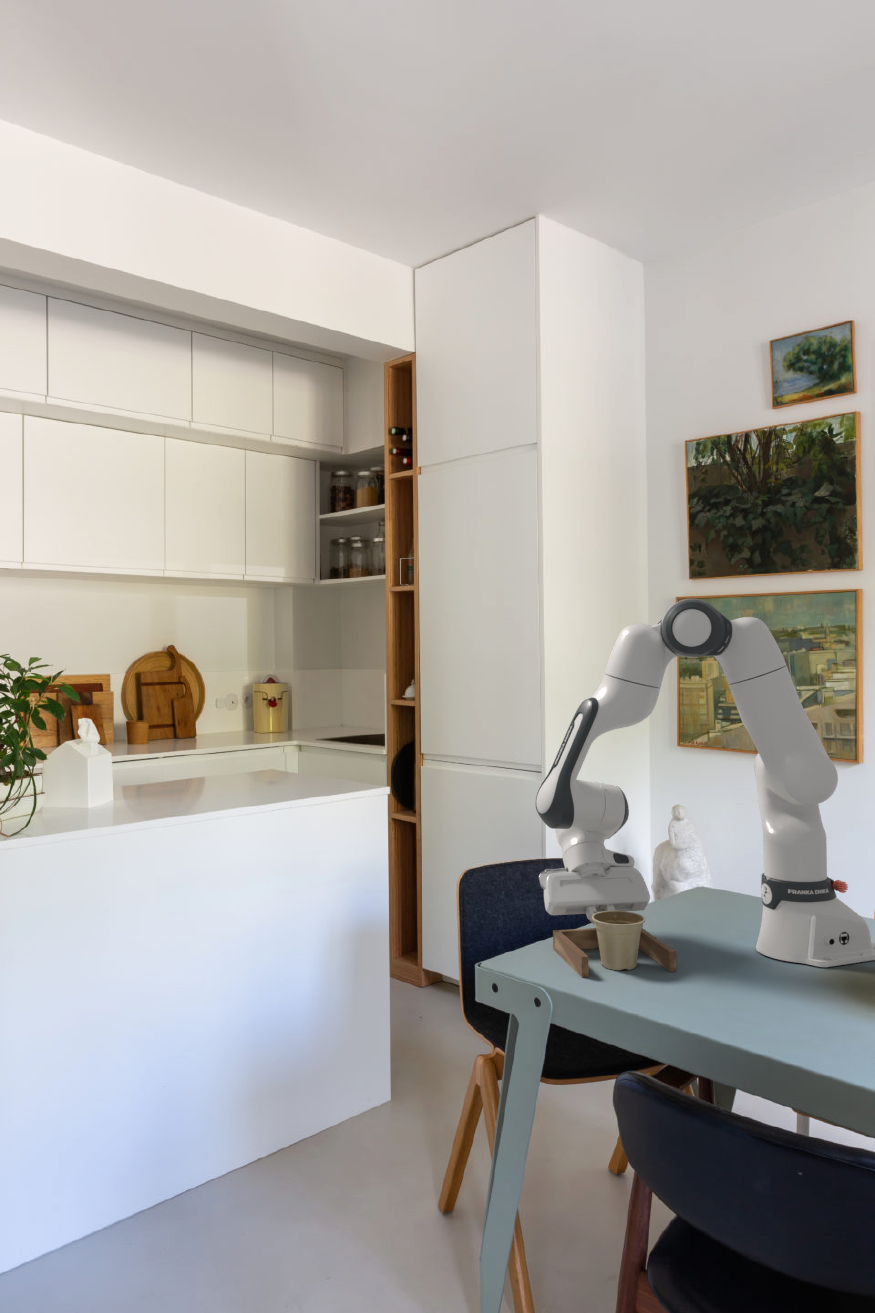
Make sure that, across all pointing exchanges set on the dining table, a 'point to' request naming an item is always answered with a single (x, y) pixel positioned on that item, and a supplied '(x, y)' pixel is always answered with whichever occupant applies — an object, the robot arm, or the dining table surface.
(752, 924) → the dining table surface
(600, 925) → the flower pot
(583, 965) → the wooden u-shaped frame
